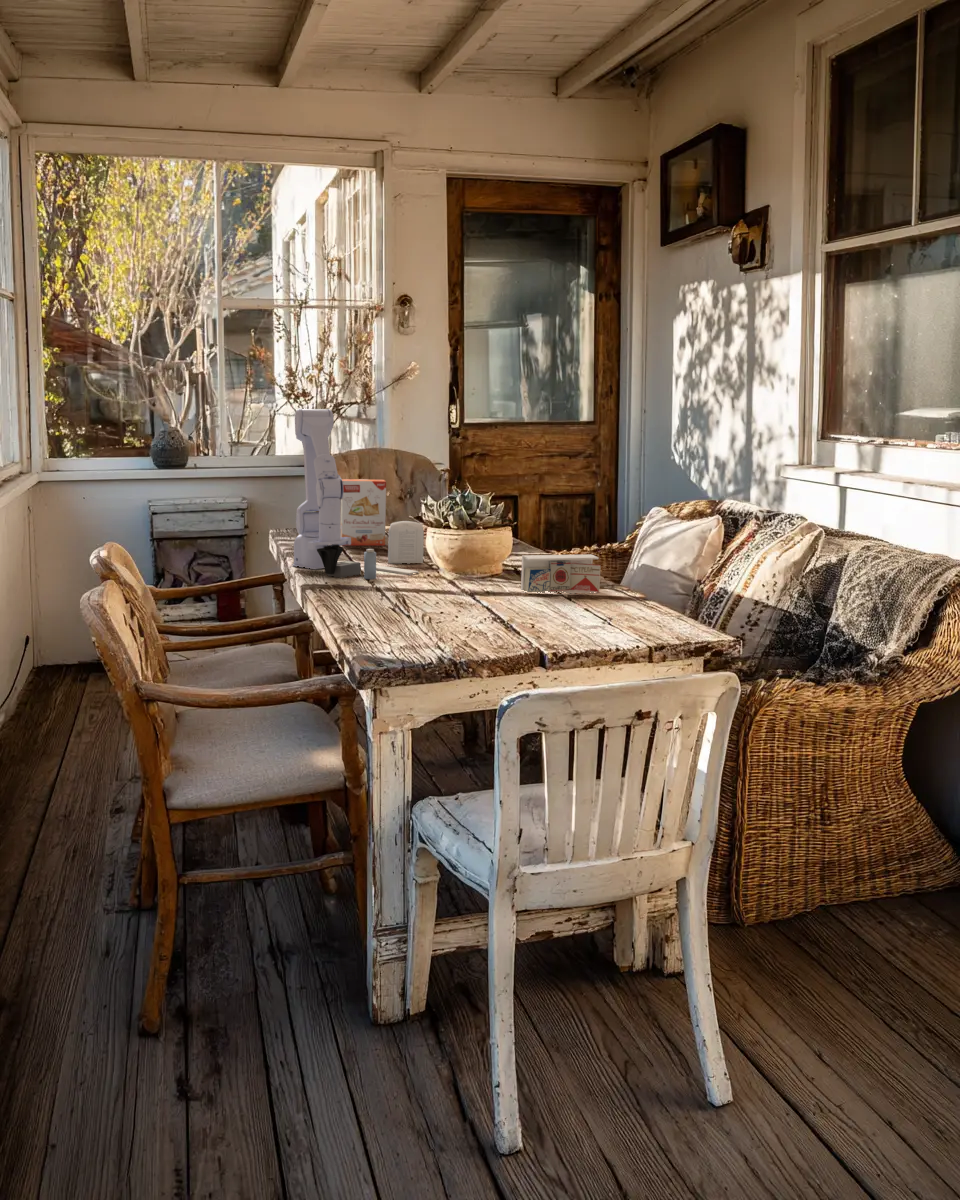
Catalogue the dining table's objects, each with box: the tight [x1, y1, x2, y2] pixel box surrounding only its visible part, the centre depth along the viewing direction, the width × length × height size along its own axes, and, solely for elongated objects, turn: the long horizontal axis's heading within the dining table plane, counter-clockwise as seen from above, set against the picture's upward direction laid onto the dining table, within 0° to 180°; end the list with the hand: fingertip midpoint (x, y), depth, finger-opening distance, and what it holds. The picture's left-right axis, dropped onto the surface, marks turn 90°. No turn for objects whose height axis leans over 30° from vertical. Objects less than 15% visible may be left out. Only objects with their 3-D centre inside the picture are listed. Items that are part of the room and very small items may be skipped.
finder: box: [326, 560, 362, 579], centre depth 319 cm, size 5×8×4 cm, turn 144°
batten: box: [376, 564, 420, 575], centre depth 327 cm, size 16×4×1 cm, turn 53°
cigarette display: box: [520, 553, 601, 594], centre depth 300 cm, size 20×6×9 cm, turn 104°
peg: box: [363, 548, 377, 580], centre depth 314 cm, size 3×3×8 cm
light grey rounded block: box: [387, 520, 425, 565], centre depth 340 cm, size 10×4×12 cm, turn 98°
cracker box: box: [340, 478, 387, 547], centre depth 374 cm, size 14×6×21 cm, turn 102°
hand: (329, 573), depth 315 cm, fingers closed
